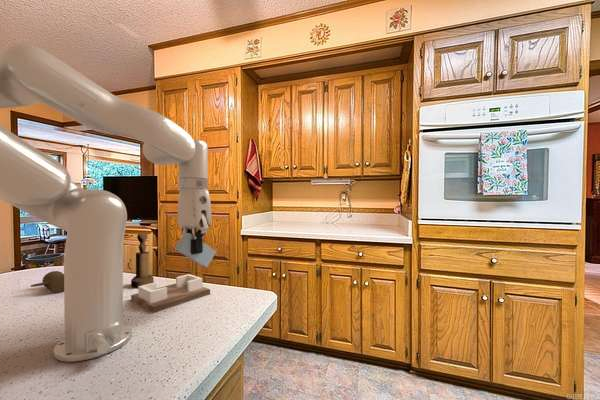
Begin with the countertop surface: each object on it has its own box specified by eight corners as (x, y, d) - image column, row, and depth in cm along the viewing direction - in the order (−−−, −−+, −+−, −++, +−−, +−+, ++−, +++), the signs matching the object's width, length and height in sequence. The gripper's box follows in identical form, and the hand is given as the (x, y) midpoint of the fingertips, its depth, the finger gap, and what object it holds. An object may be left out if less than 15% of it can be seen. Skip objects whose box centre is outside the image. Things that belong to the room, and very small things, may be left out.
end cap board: (210, 294, 83) (210, 289, 83) (153, 312, 69) (153, 307, 69) (186, 285, 91) (186, 280, 91) (131, 300, 78) (131, 295, 78)
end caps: (202, 287, 84) (202, 278, 84) (150, 303, 72) (150, 292, 72) (189, 283, 89) (189, 274, 89) (138, 296, 77) (138, 286, 76)
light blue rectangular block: (207, 267, 75) (216, 251, 77) (179, 250, 69) (190, 233, 71) (201, 265, 77) (210, 250, 79) (173, 248, 70) (184, 232, 73)
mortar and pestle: (147, 280, 96) (147, 230, 96) (157, 284, 92) (157, 232, 92) (127, 285, 91) (127, 232, 90) (136, 289, 87) (136, 234, 87)
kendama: (111, 283, 95) (34, 299, 79) (100, 279, 101) (25, 293, 84) (112, 266, 96) (34, 278, 79) (100, 263, 101) (26, 274, 84)
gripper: (223, 185, 71) (222, 254, 71) (190, 186, 81) (190, 247, 81) (197, 184, 65) (197, 259, 65) (165, 185, 75) (165, 251, 75)
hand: (193, 252), depth 73 cm, fingers closed on light blue rectangular block, 2 cm apart
